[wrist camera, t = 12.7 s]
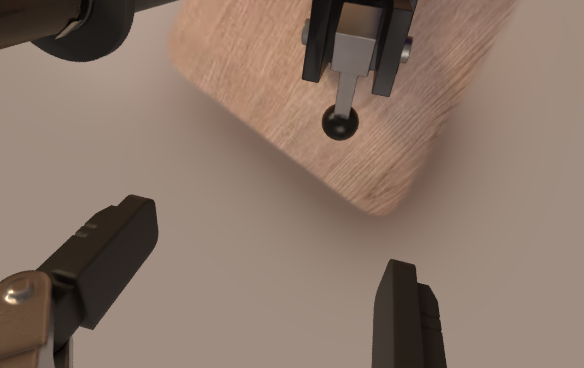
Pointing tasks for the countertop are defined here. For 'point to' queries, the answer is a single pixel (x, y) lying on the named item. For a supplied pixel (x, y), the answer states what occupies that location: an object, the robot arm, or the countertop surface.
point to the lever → (351, 65)
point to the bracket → (389, 46)
